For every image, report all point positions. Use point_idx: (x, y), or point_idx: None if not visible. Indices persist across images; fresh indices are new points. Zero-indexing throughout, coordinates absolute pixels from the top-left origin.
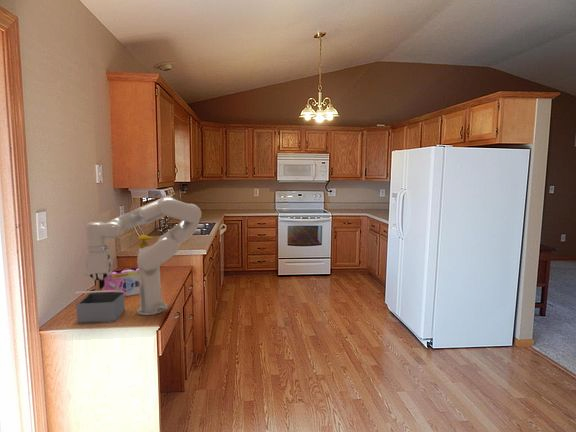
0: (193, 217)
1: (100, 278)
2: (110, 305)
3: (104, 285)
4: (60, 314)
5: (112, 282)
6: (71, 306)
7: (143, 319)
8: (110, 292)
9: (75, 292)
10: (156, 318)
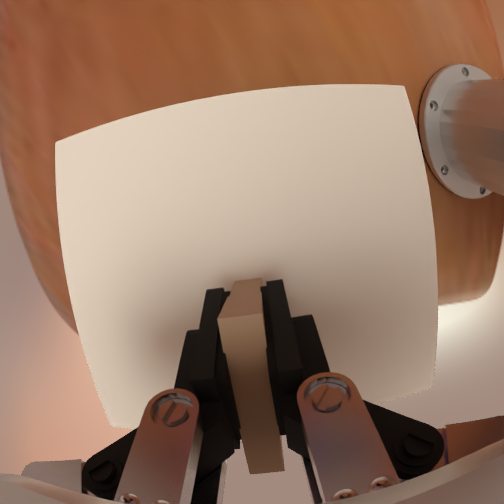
0: None
1: (303, 461)
2: None
3: (310, 318)
4: (17, 191)
5: None
6: (3, 89)
7: (458, 238)
8: (327, 206)
9: (114, 423)
10: (493, 227)
